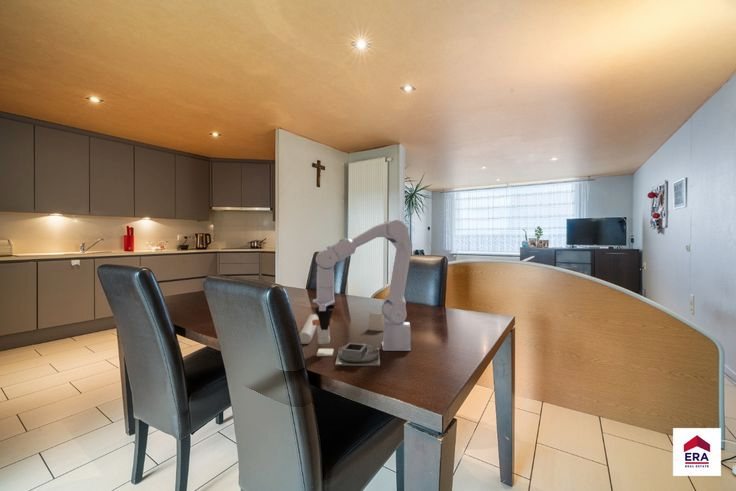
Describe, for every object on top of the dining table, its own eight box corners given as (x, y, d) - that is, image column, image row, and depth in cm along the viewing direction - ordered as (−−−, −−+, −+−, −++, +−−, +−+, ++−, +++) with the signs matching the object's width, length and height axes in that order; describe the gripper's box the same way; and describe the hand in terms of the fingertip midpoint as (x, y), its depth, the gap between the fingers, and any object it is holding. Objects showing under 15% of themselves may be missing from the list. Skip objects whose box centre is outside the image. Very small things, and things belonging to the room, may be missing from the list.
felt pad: (333, 350, 107) (333, 348, 106) (332, 356, 102) (332, 354, 101) (318, 350, 107) (318, 348, 106) (316, 356, 102) (316, 354, 101)
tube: (313, 334, 111) (321, 316, 136) (299, 330, 111) (309, 312, 136) (308, 348, 112) (317, 327, 137) (294, 344, 111) (305, 323, 136)
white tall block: (334, 339, 106) (332, 317, 105) (333, 342, 102) (331, 319, 102) (315, 341, 106) (313, 319, 105) (314, 344, 102) (311, 321, 102)
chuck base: (378, 349, 108) (378, 348, 108) (380, 365, 94) (380, 364, 94) (339, 349, 108) (339, 347, 108) (335, 365, 94) (335, 363, 94)
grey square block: (370, 328, 133) (370, 311, 133) (386, 329, 132) (386, 312, 132) (368, 331, 130) (368, 313, 130) (385, 332, 128) (385, 314, 128)
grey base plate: (346, 345, 109) (346, 335, 109) (382, 349, 106) (382, 338, 105) (331, 360, 96) (331, 348, 96) (372, 365, 93) (372, 352, 92)
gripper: (316, 283, 111) (316, 321, 111) (309, 290, 96) (309, 334, 96) (336, 283, 111) (336, 321, 111) (332, 290, 96) (332, 334, 96)
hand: (325, 327), depth 104 cm, fingers closed on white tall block, 3 cm apart
